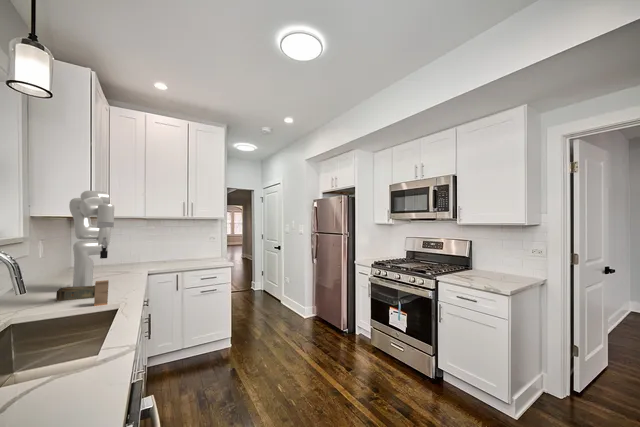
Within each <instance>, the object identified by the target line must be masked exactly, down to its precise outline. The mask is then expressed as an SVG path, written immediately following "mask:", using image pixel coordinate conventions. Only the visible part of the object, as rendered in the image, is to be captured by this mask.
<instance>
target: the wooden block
mask: <svg viewBox="0 0 640 427" xmlns="http://www.w3.org/2000/svg"><path fill="white" fill-rule="evenodd" d="M94 282H95V283H94V285H95V298H93V299H94V301H93V304H94V305H93V307H99V306H100V307H101V306H107V305H108V297H109V283H110V282H109V279H107V280H95V281H94Z"/></svg>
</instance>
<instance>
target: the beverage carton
mask: <svg viewBox="0 0 640 427" xmlns="http://www.w3.org/2000/svg"><path fill="white" fill-rule="evenodd" d="M94 298H95V284H94V285H92V286H79V287H73V286H65V287H60V288H58V290H56V298H55V301H56V302H62V301H64V302H65V301H73V300H74V301H75V300H83V299H84V300H85V299H86V300H87V299H94Z"/></svg>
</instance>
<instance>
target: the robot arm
mask: <svg viewBox="0 0 640 427" xmlns="http://www.w3.org/2000/svg"><path fill="white" fill-rule="evenodd" d="M110 197H111V196H110V195H109V193H108V192H106V191H100V190H84V191H83V192H82V193H80V197H73V198H72V199H70V201H69V211H70V214H71V216H72V219H73V222H74V223H73V224H74V234H75V238H76V239H78V240H79V241H76V242H74V244H73V246H72V251H73V259H74V260H73V276H72V277H73V278H72V287H79V286H93V280H94V264H95V263H94V260H93V259H92V258H91V257H90V256H97V255H100V256H99V259H102V260H103V259H108V252H109V251H108V250H109V249H108V248H109V246H110V242H111V233H112V232H111V230H112V229H114V223H115V205H114V204H112V203H110V201H111V200H110V199H111V198H110ZM91 217H93V218H95V217H96V224H92V220H91Z"/></svg>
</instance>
